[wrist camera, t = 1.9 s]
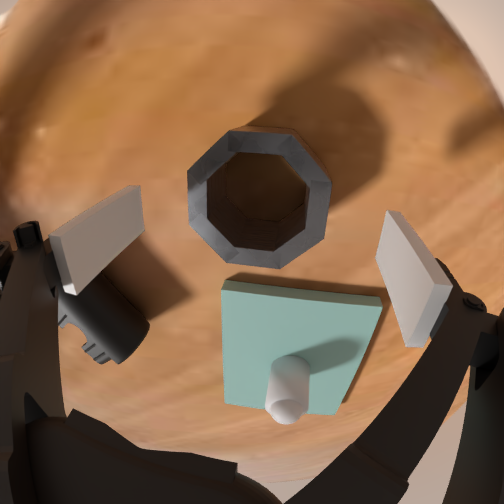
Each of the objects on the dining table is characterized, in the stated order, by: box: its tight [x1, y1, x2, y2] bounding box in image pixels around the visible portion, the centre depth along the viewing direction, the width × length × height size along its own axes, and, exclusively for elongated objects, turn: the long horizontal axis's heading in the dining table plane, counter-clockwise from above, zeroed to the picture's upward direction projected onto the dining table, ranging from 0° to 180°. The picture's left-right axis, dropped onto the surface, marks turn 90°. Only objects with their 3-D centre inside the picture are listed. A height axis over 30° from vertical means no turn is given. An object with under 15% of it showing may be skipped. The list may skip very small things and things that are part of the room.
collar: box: [187, 126, 332, 269], centre depth 19 cm, size 8×8×5 cm
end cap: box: [56, 272, 150, 364], centre depth 26 cm, size 10×7×7 cm
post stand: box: [221, 280, 383, 424], centre depth 26 cm, size 14×18×8 cm
